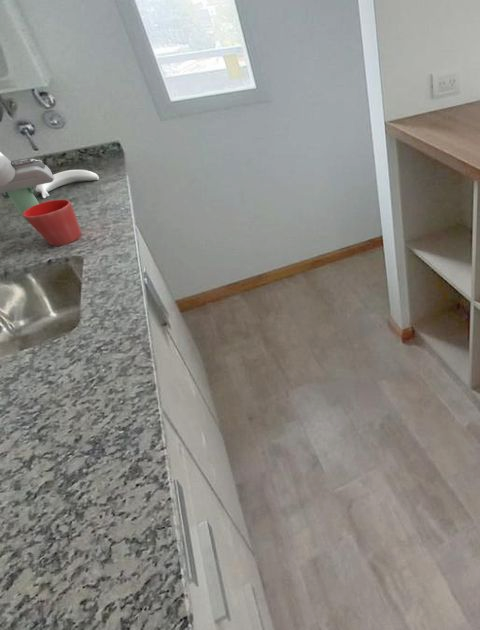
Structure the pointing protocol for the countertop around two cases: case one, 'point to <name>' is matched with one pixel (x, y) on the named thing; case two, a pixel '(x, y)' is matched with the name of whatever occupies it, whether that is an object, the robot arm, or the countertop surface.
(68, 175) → the banana
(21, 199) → the soap bottle
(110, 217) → the countertop surface
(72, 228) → the flower pot
